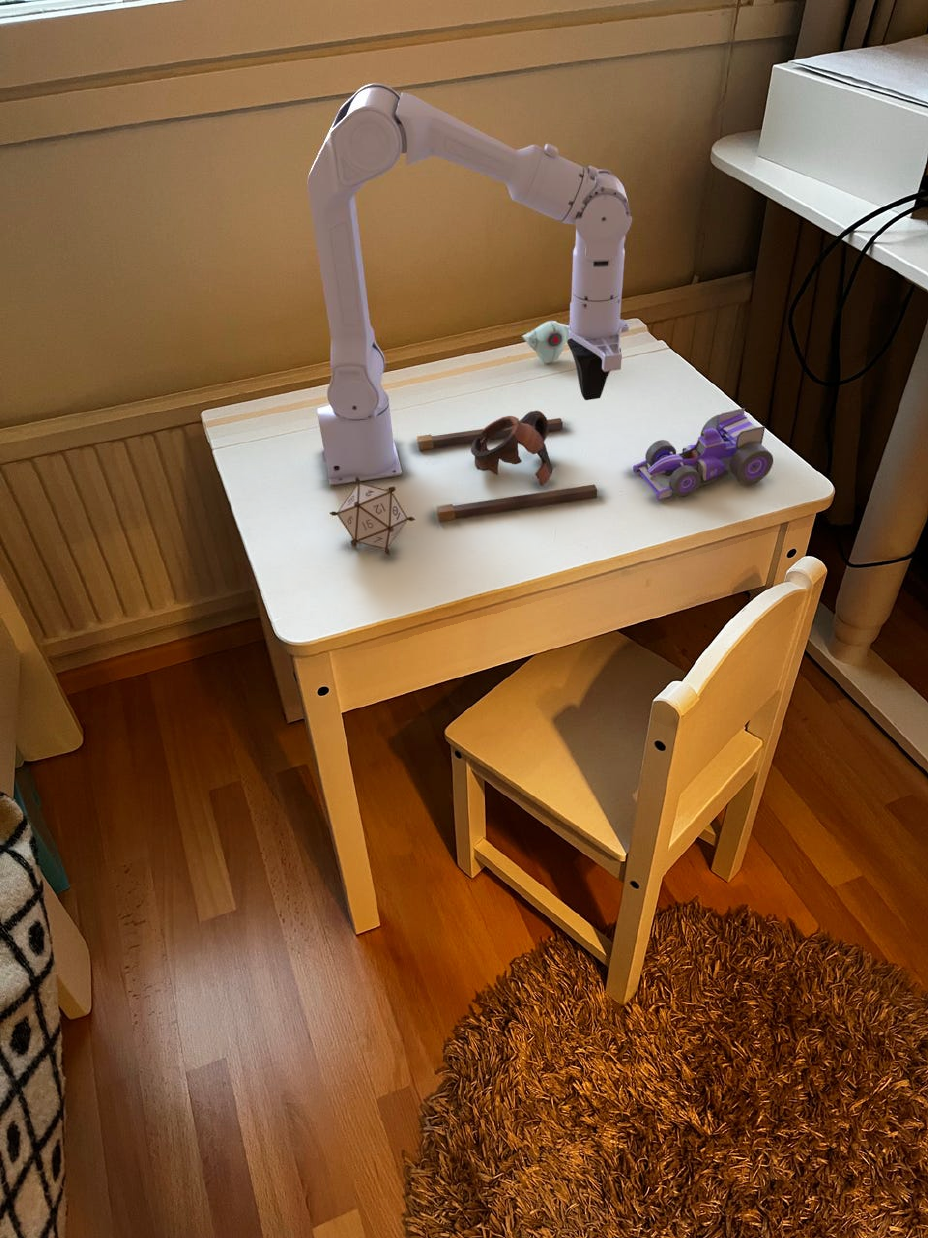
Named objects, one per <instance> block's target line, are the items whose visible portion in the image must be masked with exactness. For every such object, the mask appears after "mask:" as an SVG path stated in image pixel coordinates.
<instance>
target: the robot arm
mask: <svg viewBox="0 0 928 1238" xmlns="http://www.w3.org/2000/svg"><path fill="white" fill-rule="evenodd" d="M402 154H405V155H406V156H405V166H410V165H414V164H417V163H419V162H422V161H424V160H428V159H430V158H433V157H437V158H440V159H443V160H445V161H448V162H451V163H453V164H455V165H458V166H460V167H463V168H465V169H468V170H470V171H473V172H476V173H478V174H481V175H484V176H485V177H489V178H491V179H494V180H496V181H499V182H501V183H504V184H505V186H506V187H507V190H508V194H509V197H510V198H511V200H512V201H513V202H516V203H518V204H520V205H522V206H524V207H527V208H529V209H531V210H533V211H536V212H538V213H540V214H542V215H545V216H547V217H548V218H551V219H553V220H555V221H557V222H560V223H562V224H565V225H573V226H575V244H574V245H575V246H574V247H573V251H572V273H571V274H572V277H571V298H570V299H571V302H569V323H568V325H569V336H570V338H569V339H568V340H567V342H566V343H567V346H568V347H569V348H568V349H570V352H571V354H572V357H573V360H574V363H575V368H576V372H577V378H578V379H577V380H578V384H579V389H580V393H581V396H582V398H583V400H584V401H590V400H591V401H592V400H598V399H601V397H602V394H603V392H604V388H605V385H606V383H607V379H608V377H609V375H610V372H613V371H620V370H621V369H622V358H623V354H622V348H621V347H620V344H621V335H622V333H627V332H629V330H630V324H629V323H628V322H627V320H625V319H621V311H622V297H623V284H624V271H625V259H626V257H625V256H626V250H625V247H624V246H625V242H626V235H627V234H628V232H629V230H630V228H631V226H632V223H633V216H632V215H631V207H630V203H629V200H628V197H627V193H626V190H625V187H624V185H623V183H622V182H621V181H620V179H619V178H618V177H617V176H615V175H614V174H613V173H611V172H610V170H608V169H604V168H603V169H602V168H601V169H598V168H597V167H595V166H593V165H588V168H586V167H584V166H581V165H580V164H578V163H575V162H573V161H571V160H569V159H567V158H565V157H563V156H561V155H559V149H558V147H557V146H555V145H552V144H550V143H546V144H545V145H544V147H541V146H539V145H537V144H531V145H529V146H526V147H523V148H520V149H515V148H513V147H511V146H509V145H508V144H505V143H503V142H501V141H499V139H496V138H494V137H492V136H490V135H489V134H486V133H484V132H483V131H481V130H479V129H477V128H475V127H473V126H471V125H469V124H468V123H465V122H464V121H462V120H460V119H458V118H456V117H455V116H452V115H451V114H448V113H446V112H445V111H443V110H441V109H439V108H437V107H435V106H433V105H432V104H429V102H427V101H425V100H423V99H421V98H419V97H417V96H415V95H413V94H410V93H408V92H407V93H406V92H401V94H399V93H398V92H397V90H395V89H394V88H392V87H390V86H388V85H387V84H383V83H368V84H367V85H364V86H362V87H360V88H359V89H358V90H356V92H354V94H353V95H352V96H351V97H349V99H347V100H346V102H345V103H343V105H342V106H341V107H340V109H339V110H338V113H337V115H336V117H335V119H334V121H333V123H332V125H331V127H330V130H329V131H328V133H327V135H326V137H325V140H324V142H323V144H322V146H321V148H320V150H319V152H318V154H317V157H316V158H315V160H314V162H313V165H312V167H311V169H310V171H309V174H308V175H307V179H306V180H307V181H306V184H307V185H306V188H307V194H308V201H309V206H310V212H311V218H312V219H311V220H312V225H313V226H312V227H313V231H314V237H315V239H314V240H315V245H316V252H317V258H318V264H319V271H320V277H321V283H322V288H323V290H322V291H323V295H324V303H325V309H326V315H327V321H328V328H329V335H330V357H329V358H330V359H329V360H330V363H329V364H330V365H329V367H330V372H331V377H330V381H329V384H328V386H327V391H326V397H327V401H328V403H329V404H327V405H324V406H320V407H318V408H316V413H317V419H318V426H319V431H320V437H321V443H322V448H321V449H320V451H321V457H322V462H323V463H325V465H326V466H325V467H326V471H327V478H328V483H329V485H331V486H335V485H342V484H348V483H357V482H356V480H355V478H356V477H358V478H359V480H360V482H362V481H363V482H364V481H369V480H376V479H385V478H390V477H398V476H401V475H402V474H403V470H402V466H401V462H400V459H399V454H398V449H397V446H396V442H395V441H394V435H393V426H392V417H391V408H390V400H389V395H388V393H387V391H385V389H384V387H383V386H382V379H383V375H384V374H385V369H386V358H385V355H384V353H383V351H382V350H381V348H380V347H379V346H378V344H377V340H376V337H375V330H374V328H373V326H372V325H371V318H370V311H369V302H368V294H367V287H366V279H365V271H364V262H363V254H362V248H361V247H362V246H361V238H360V237H361V236H360V230H359V221H358V213H357V204H356V197H355V196H356V194H357V193H359V191H360V190H361V189H362V188H363V187H364V186H365V185H366V183H368V182H370V181H372V180H374V179H376V178H380V177H381V176H383V175H385V174H386V173H388V172H389V171H391V170H392V169H393V168H394V167H395V166H396V164H398V161H399V160H400V157H401V155H402Z"/></svg>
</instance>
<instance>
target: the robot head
mask: <svg viewBox="0 0 928 1238" xmlns="http://www.w3.org/2000/svg"><path fill="white" fill-rule="evenodd" d="M521 337H522V339H523V340H524V341H525V342H526V343H527V345H528V346H529V348H531V350H533V351H534V352H535V353H536V354H537V357H538V359H540V360H541V362H543V363H544V364H551V363H553V362H555V361H557V360H558V359H559V357H560V356H561V354H562V352H563V350H564V348H565V346H566V343H567V340H568V339H570V338H571V337H570V336H569V324H563V323H558V322H557V321H556V320H555V321H554V320H549V321H546V322H544V323H542V324H540V325H538V326H537V327H535V328H534V329H532V330H531V331H528V332H526V333H525V334H523V335H521Z"/></svg>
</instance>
